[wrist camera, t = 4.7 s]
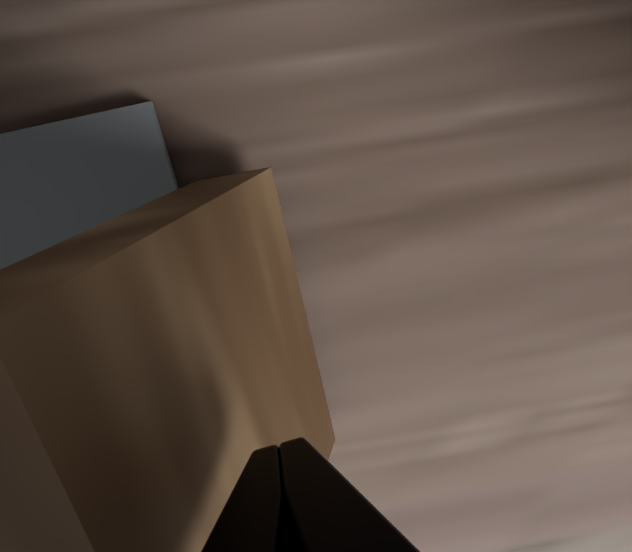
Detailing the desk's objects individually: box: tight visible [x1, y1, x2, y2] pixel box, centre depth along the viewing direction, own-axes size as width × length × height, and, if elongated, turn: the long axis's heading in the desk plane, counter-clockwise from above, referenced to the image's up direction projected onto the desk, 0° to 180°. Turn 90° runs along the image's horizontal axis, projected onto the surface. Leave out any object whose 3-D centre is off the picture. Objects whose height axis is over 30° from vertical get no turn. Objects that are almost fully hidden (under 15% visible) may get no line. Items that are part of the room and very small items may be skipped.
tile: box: [0, 167, 335, 552], centre depth 10 cm, size 2×8×8 cm, turn 12°
